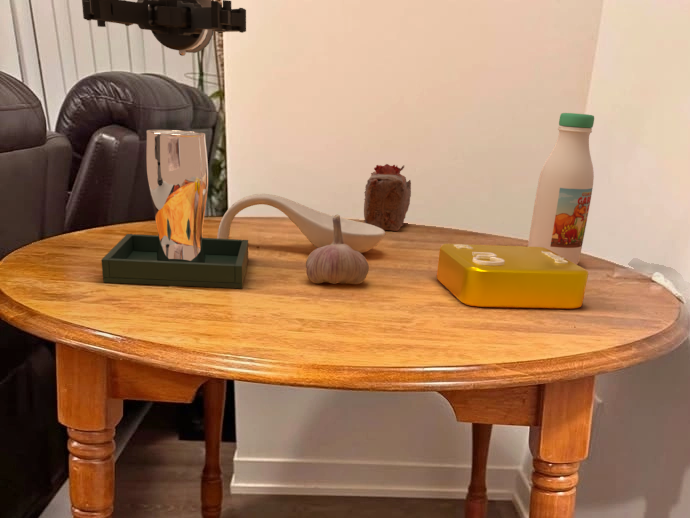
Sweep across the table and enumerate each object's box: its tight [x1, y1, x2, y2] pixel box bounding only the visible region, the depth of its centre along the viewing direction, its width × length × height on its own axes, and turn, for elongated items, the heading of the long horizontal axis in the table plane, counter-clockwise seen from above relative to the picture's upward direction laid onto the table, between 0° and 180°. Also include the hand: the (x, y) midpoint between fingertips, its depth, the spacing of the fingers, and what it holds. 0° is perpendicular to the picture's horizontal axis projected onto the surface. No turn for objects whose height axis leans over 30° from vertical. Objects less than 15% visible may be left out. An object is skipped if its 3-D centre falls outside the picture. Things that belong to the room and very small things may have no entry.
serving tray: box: [101, 233, 249, 290], centre depth 95 cm, size 16×16×3 cm
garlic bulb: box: [305, 214, 370, 285], centre depth 93 cm, size 8×7×8 cm
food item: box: [363, 163, 412, 232], centre depth 133 cm, size 14×8×10 cm, turn 177°
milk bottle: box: [527, 112, 595, 265], centre depth 110 cm, size 8×8×20 cm
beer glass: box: [145, 129, 209, 263], centre depth 92 cm, size 7×7×15 cm
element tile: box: [436, 243, 589, 310], centre depth 95 cm, size 15×15×5 cm
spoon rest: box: [216, 193, 386, 254], centre depth 110 cm, size 24×12×7 cm, turn 92°
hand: (155, 9), depth 91 cm, fingers open, 13 cm apart
